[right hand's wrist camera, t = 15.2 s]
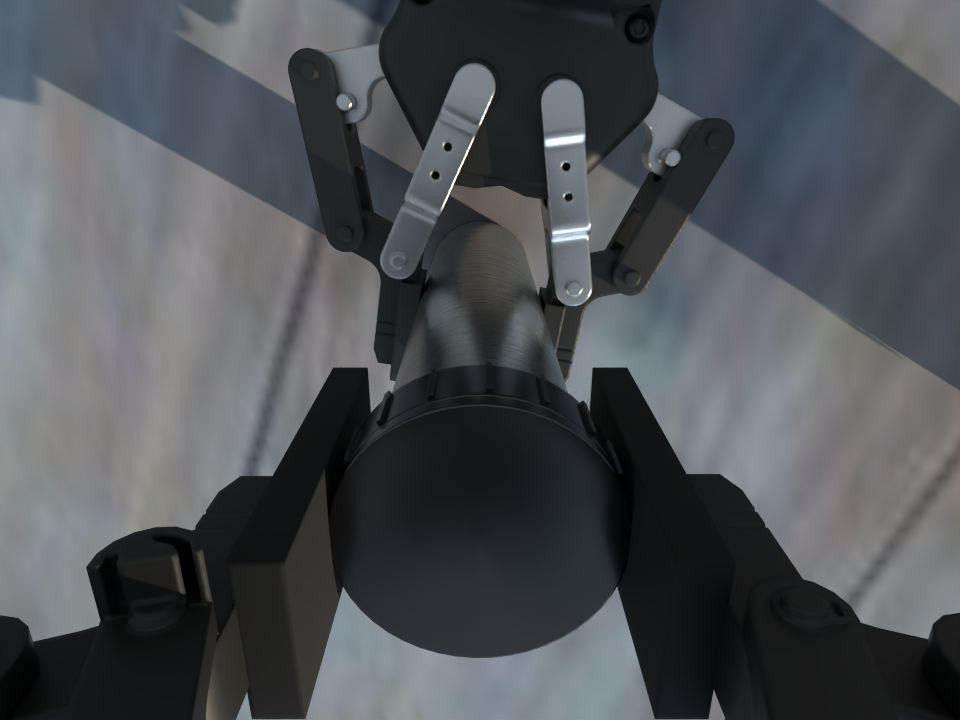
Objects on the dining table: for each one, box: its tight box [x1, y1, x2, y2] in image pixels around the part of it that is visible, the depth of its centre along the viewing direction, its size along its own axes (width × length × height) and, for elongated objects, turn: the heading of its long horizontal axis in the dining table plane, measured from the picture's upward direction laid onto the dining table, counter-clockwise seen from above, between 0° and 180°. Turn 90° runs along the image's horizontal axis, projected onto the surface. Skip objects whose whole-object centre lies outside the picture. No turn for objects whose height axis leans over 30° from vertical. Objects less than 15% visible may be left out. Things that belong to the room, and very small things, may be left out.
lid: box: [328, 362, 632, 658], centre depth 11 cm, size 5×5×2 cm
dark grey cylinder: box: [392, 221, 568, 393], centre depth 20 cm, size 4×4×19 cm
